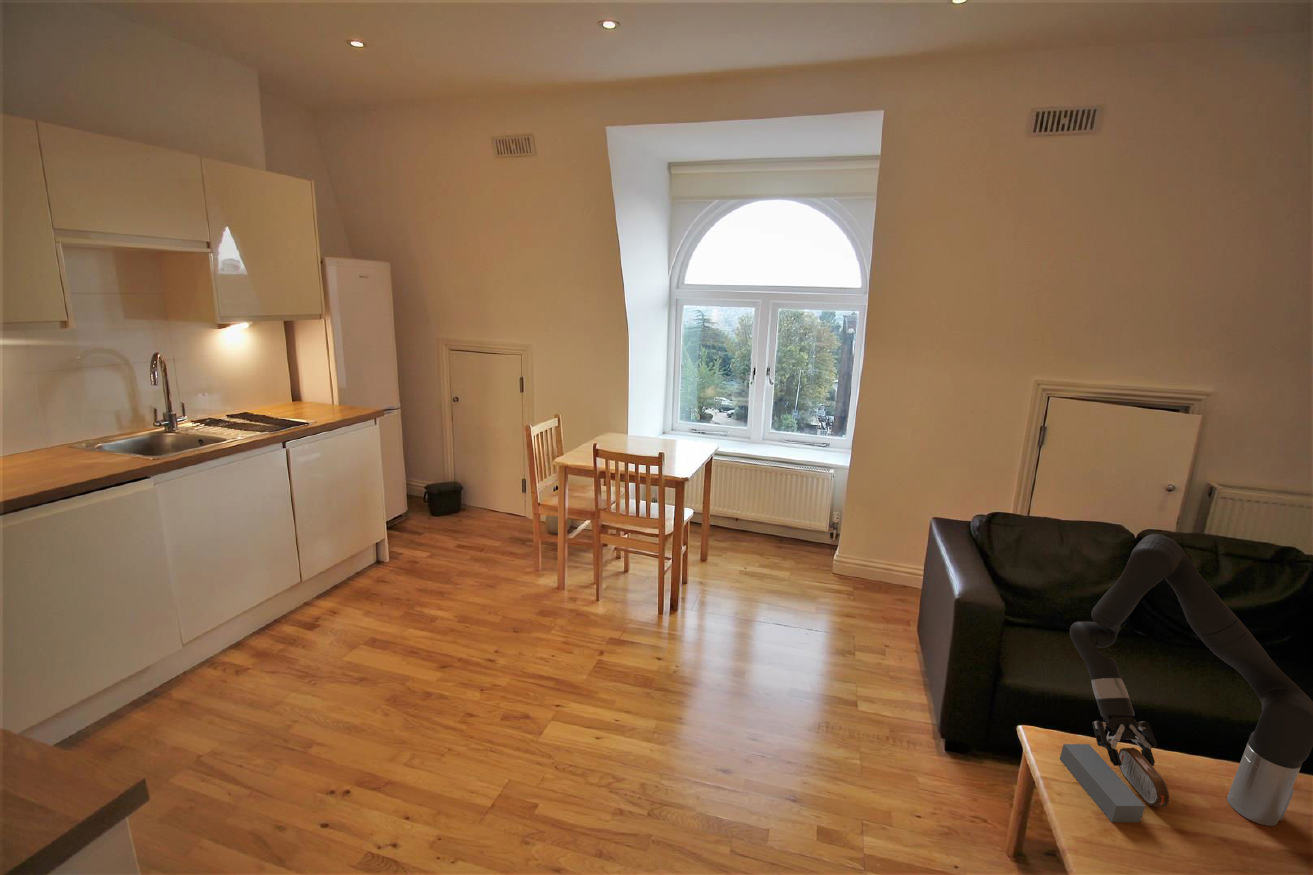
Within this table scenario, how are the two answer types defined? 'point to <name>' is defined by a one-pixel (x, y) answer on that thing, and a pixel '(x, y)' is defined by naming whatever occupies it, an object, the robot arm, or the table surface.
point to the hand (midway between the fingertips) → (1134, 765)
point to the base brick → (1102, 783)
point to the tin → (1143, 777)
